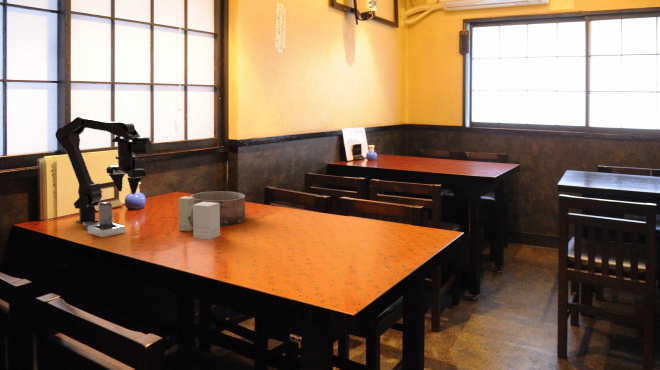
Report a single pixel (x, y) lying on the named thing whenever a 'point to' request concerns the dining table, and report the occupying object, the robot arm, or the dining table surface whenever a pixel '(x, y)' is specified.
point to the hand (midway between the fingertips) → (126, 192)
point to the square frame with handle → (95, 229)
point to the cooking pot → (225, 205)
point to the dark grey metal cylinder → (105, 215)
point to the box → (186, 213)
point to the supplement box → (206, 220)
